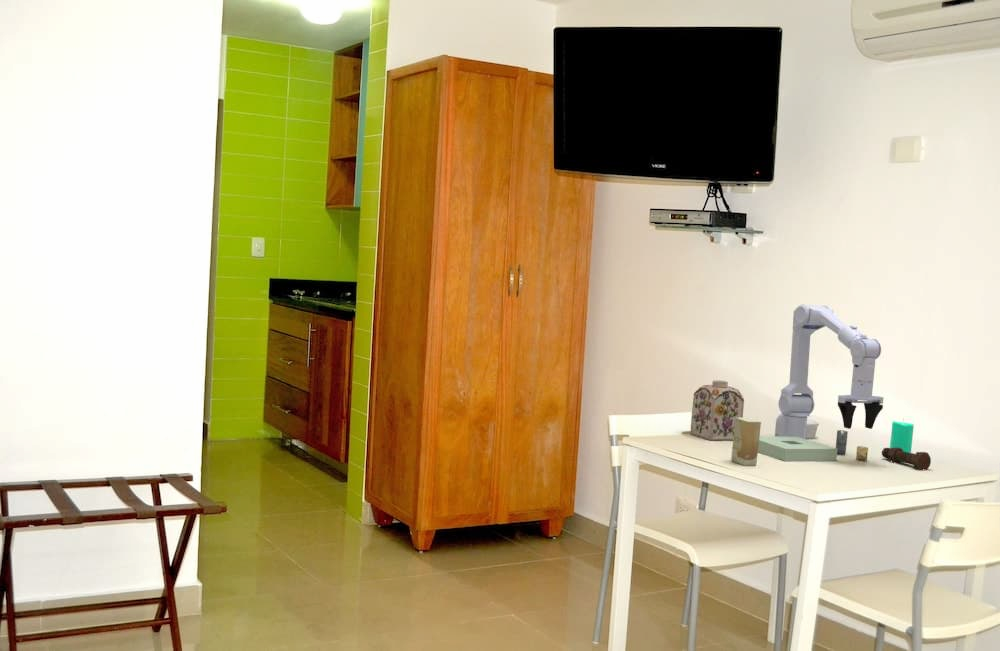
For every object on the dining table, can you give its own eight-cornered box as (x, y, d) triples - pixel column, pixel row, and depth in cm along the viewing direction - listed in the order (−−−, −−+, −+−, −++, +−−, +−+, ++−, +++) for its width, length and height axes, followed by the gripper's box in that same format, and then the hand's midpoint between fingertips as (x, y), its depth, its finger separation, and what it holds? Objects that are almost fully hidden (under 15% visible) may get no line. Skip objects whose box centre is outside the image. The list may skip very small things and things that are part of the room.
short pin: (853, 459, 280) (854, 446, 280) (861, 459, 281) (863, 446, 281) (860, 461, 277) (862, 448, 277) (869, 461, 278) (870, 448, 278)
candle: (885, 456, 289) (889, 417, 288) (893, 454, 293) (897, 415, 293) (905, 460, 285) (909, 420, 284) (913, 458, 289) (917, 419, 288)
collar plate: (746, 448, 286) (747, 436, 286) (796, 448, 293) (797, 436, 292) (784, 461, 270) (785, 448, 269) (836, 460, 276) (837, 448, 276)
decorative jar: (741, 440, 299) (746, 383, 298) (710, 441, 294) (715, 383, 293) (719, 433, 310) (724, 378, 309) (688, 433, 306) (693, 377, 304)
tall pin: (832, 453, 288) (835, 430, 288) (840, 453, 289) (843, 430, 289) (839, 455, 286) (841, 432, 285) (847, 455, 287) (850, 432, 286)
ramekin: (797, 439, 309) (798, 423, 308) (774, 433, 319) (776, 417, 319) (824, 439, 313) (826, 423, 313) (802, 433, 323) (803, 417, 323)
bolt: (886, 465, 286) (925, 474, 272) (875, 456, 284) (913, 466, 270) (894, 448, 286) (934, 457, 272) (884, 439, 285) (922, 448, 271)
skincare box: (730, 460, 265) (734, 416, 264) (743, 460, 266) (747, 417, 265) (744, 465, 259) (748, 421, 258) (757, 465, 260) (761, 421, 259)
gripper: (851, 382, 267) (847, 430, 268) (892, 383, 272) (888, 430, 273) (834, 378, 273) (830, 425, 274) (875, 380, 278) (870, 426, 279)
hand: (858, 428), depth 274 cm, fingers open, 7 cm apart
